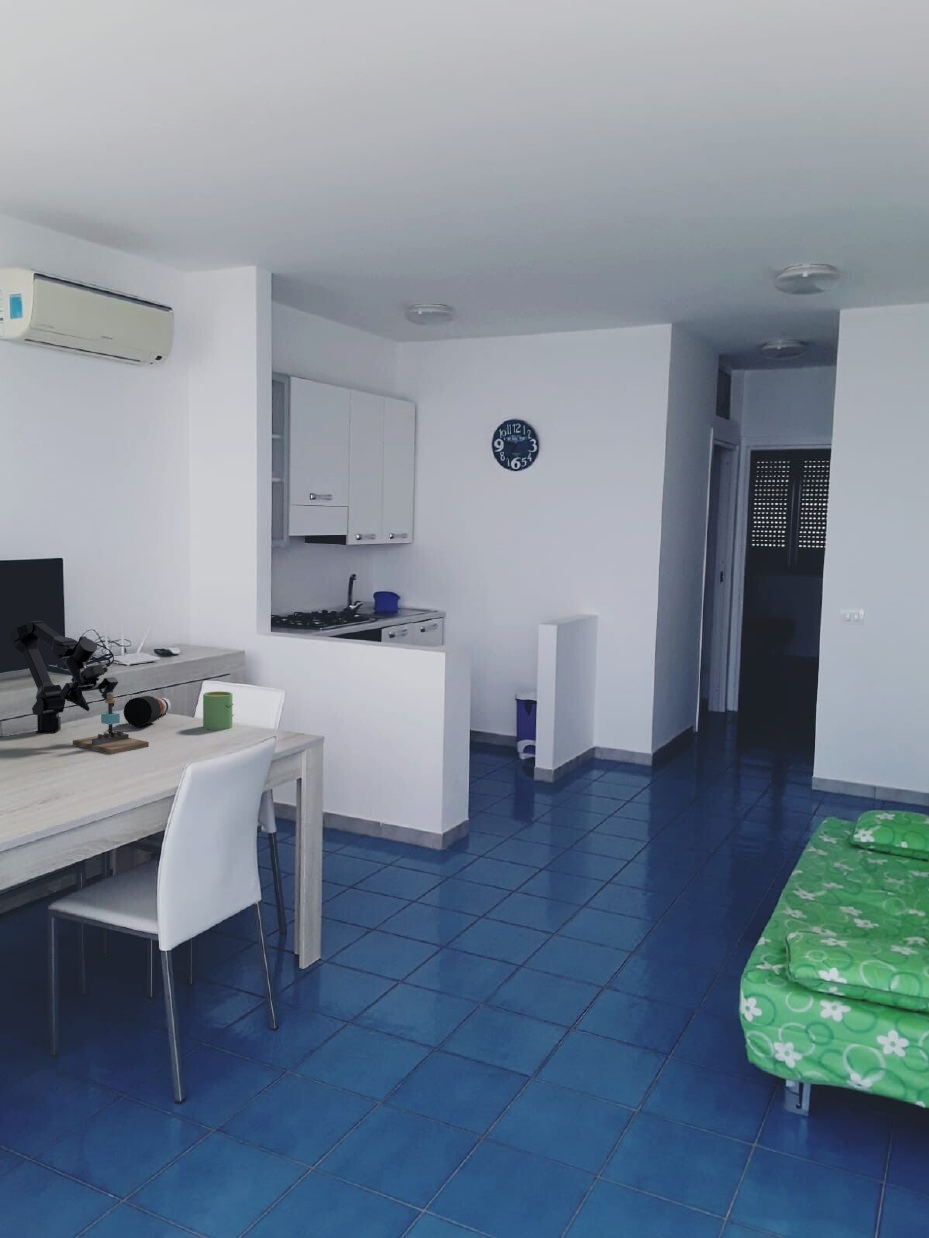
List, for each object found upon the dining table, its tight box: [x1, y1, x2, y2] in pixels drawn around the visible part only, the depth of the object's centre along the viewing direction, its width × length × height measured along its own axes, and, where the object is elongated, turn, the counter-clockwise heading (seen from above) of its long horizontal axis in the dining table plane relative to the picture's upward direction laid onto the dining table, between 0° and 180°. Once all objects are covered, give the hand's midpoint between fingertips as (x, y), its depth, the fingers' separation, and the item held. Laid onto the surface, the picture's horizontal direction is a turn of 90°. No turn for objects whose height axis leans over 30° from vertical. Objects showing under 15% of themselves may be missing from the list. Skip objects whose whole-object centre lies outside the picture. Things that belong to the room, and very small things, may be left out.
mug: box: [202, 690, 234, 731], centre depth 354 cm, size 13×10×12 cm
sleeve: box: [100, 711, 121, 726], centre depth 320 cm, size 4×4×3 cm
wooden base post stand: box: [72, 692, 150, 755], centre depth 320 cm, size 20×14×17 cm
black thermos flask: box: [123, 695, 172, 727], centre depth 365 cm, size 10×34×10 cm, turn 179°
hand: (101, 708), depth 322 cm, fingers open, 9 cm apart
